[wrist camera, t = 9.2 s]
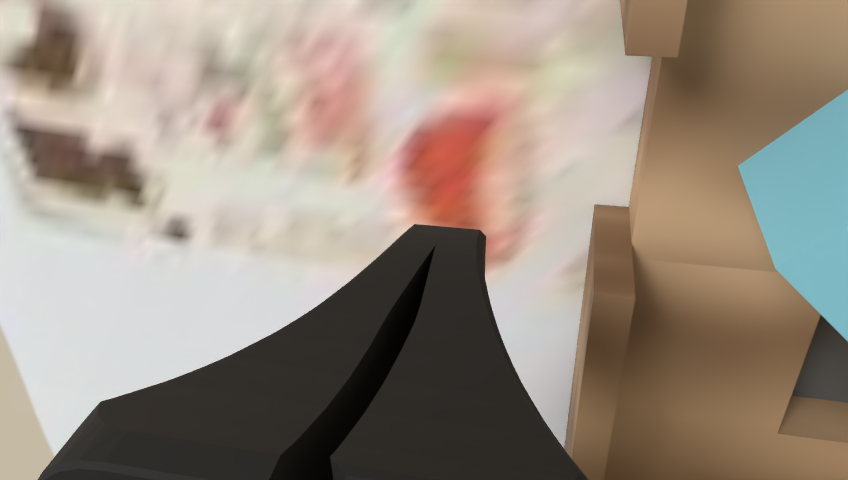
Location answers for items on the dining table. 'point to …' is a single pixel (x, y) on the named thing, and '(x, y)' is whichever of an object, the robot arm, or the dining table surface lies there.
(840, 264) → the block
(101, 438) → the robot arm
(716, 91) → the tray
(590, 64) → the dining table surface
